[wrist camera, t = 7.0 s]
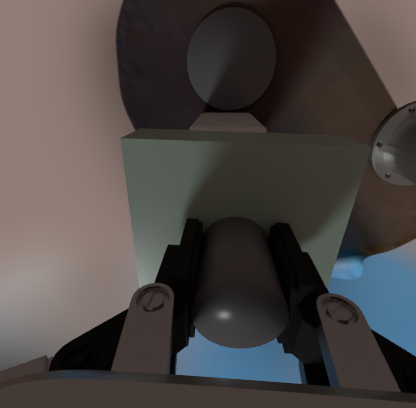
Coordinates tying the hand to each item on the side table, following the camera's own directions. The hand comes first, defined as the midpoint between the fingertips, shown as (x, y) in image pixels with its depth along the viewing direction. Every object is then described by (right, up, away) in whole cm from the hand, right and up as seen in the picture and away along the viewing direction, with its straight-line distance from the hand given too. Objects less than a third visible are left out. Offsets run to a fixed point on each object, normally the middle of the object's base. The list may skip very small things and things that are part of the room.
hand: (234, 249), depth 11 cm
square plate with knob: (0, +1, +3) cm, 3 cm away
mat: (+2, +21, +22) cm, 31 cm away
